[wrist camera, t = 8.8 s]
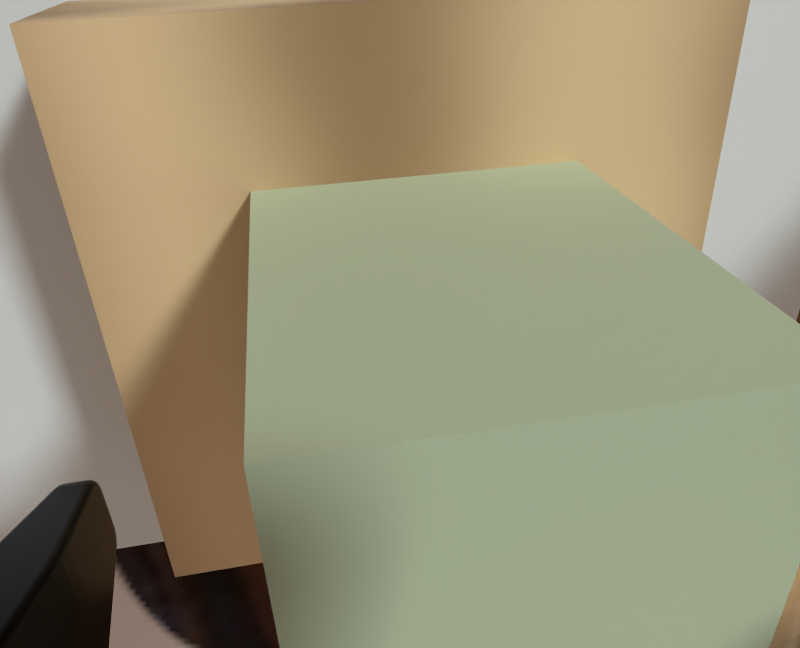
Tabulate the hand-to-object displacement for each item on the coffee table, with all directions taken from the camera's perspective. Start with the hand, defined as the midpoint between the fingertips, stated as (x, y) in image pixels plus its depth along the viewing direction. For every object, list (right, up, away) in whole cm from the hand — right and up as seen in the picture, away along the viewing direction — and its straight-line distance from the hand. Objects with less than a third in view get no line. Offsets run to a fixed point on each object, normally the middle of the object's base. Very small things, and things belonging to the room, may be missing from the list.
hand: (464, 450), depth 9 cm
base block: (-1, +3, +5) cm, 6 cm away
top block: (0, +2, +3) cm, 3 cm away
